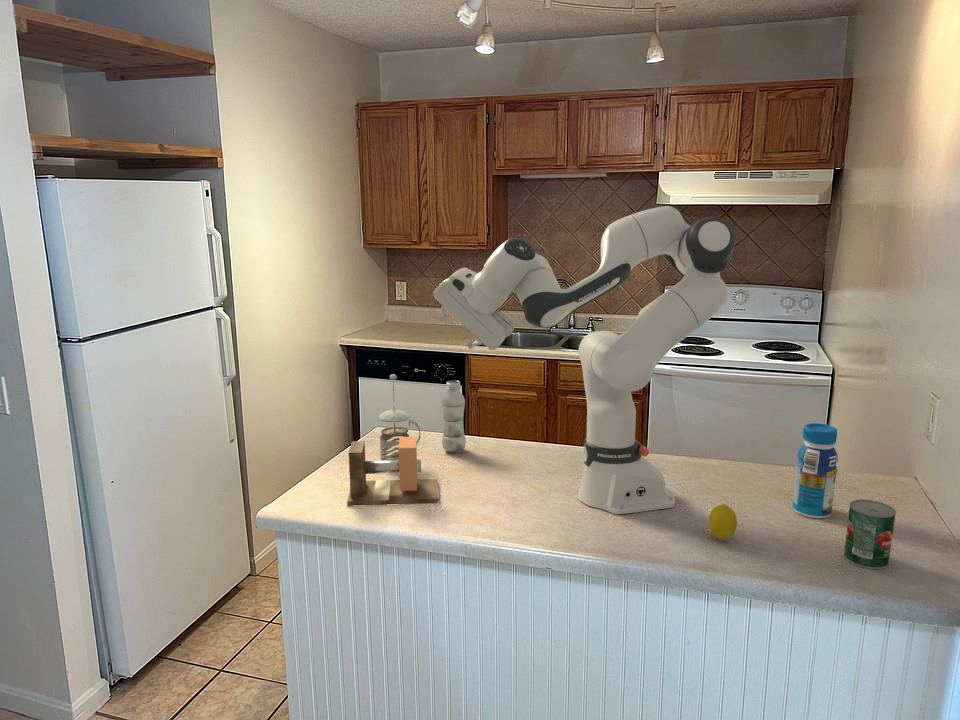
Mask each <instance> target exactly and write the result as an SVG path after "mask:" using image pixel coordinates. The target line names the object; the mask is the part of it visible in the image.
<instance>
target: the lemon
mask: <svg viewBox="0 0 960 720" xmlns="http://www.w3.org/2000/svg"><path fill="white" fill-rule="evenodd" d="M737 526H738V519H737V514H736V513H735V510H734V509H733V508H732V507H730V506H728V505H727V504H724V503H721V504H720V505H717V506H715V507H714V508H712V510H711V511H710V514H709V517H708V528H709V531H710V533H711V534H712V535H713V536H714V537H715V538H717V539H718V540H719V541H725V540H727V539H730V538H731V537H733V536H734V535H735V533H736V530H737Z"/></svg>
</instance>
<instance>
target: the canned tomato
mask: <svg viewBox="0 0 960 720" xmlns="http://www.w3.org/2000/svg"><path fill="white" fill-rule="evenodd" d="M849 502H850V503H849V511H848V517H847V525H846V526H847V527H846V533H845V542H844V549H843V550H844V551H843V558H844V559H845V560H846V561H847V562H849V564H852V565H854V566H857V567H860V568H863V569H868V570H882V569H883V570H884V569H886V568H888V567H889V565H890V557H891V556H890V555H891V549H892V541H893V536H894V528H895V520H896V514H897V510H896V509H895V508H894V507H893V506H891V505H889V504H886V503H884V502H882V501H876V500H871V499H861V498H860V499H855V500H851V501H849Z"/></svg>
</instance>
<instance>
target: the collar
mask: <svg viewBox="0 0 960 720" xmlns="http://www.w3.org/2000/svg"><path fill="white" fill-rule="evenodd" d="M399 438H400V439H399V440H398V441H399V445H398V447H399V450H398V451H399V473H398V474H399V475H398V478H399V479H398V480H399V483H400V491H415V490H417V479H418V472H417V463H416V460H418V455H417V454H418V452H417V451H418V449H417V448H418V446H417V445H418V444H417V443H418V442H417V436H409V437H402V436H399Z"/></svg>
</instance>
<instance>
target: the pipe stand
mask: <svg viewBox="0 0 960 720" xmlns="http://www.w3.org/2000/svg"><path fill="white" fill-rule="evenodd" d="M350 444H351V445H350V448H349V450H348V466H349V469H348V470H349V491H348V495H347V499H346V500H347V501H346V502H347V503H346V504H347V507H354V506H353V505H367V506H388V505H387V504H399V505H424V504H425V505H427V504H429V505H431V504H439V500H440V499H439V480H438V478H426V479H425V478H424V479H419V478H417V490H415V491H400V483H399V479H378V480H377V479H376V480H367V474H364V461H366V442H365V440H357V441H356V440H354V441H351V443H350ZM430 503H431V504H430Z"/></svg>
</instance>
